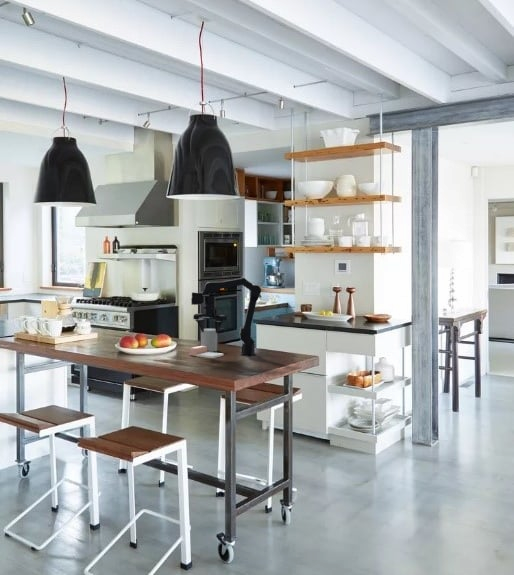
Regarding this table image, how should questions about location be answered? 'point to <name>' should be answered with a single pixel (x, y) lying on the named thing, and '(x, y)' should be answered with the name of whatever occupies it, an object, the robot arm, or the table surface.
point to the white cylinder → (209, 339)
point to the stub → (197, 350)
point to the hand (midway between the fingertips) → (209, 332)
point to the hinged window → (209, 354)
